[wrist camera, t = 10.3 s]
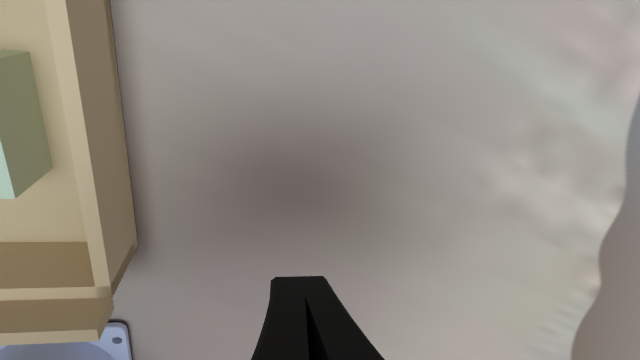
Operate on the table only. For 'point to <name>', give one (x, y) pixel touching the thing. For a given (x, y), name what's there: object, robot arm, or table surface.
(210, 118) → the table surface
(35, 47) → the beige shallow box
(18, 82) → the packed item
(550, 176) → the table surface
